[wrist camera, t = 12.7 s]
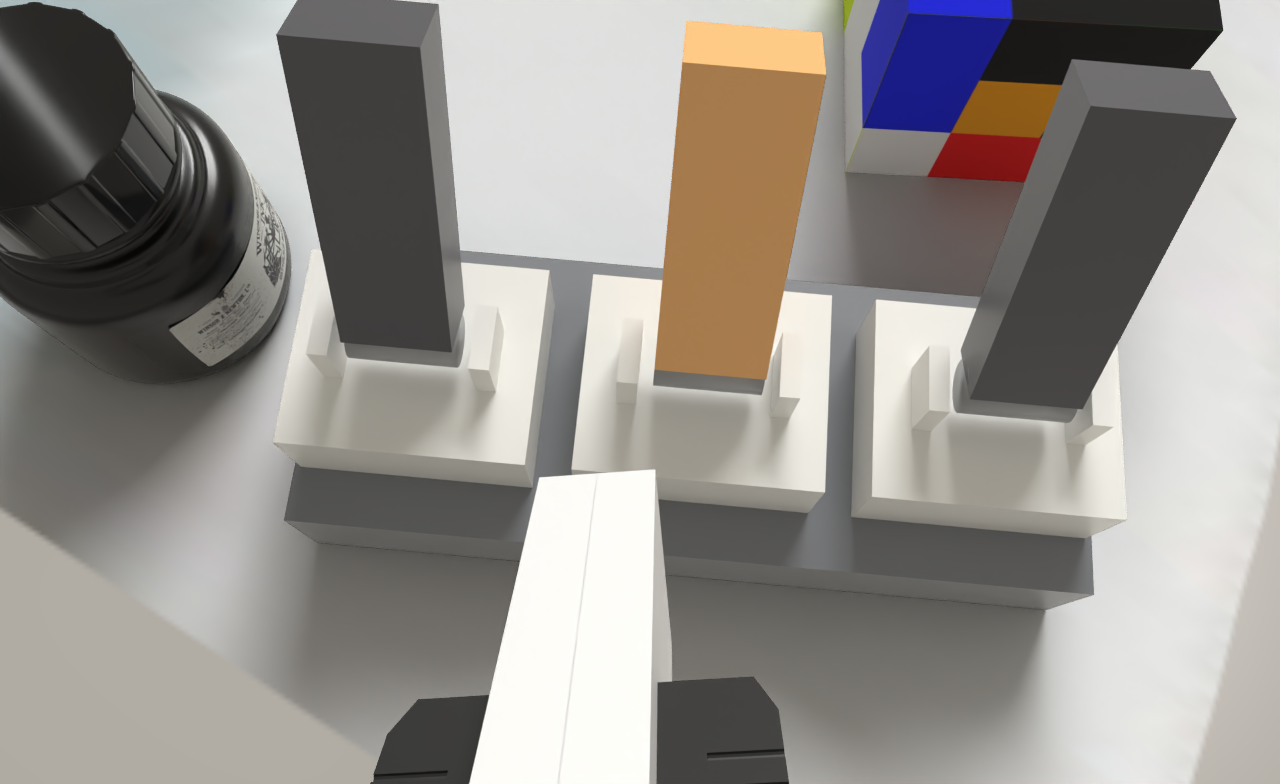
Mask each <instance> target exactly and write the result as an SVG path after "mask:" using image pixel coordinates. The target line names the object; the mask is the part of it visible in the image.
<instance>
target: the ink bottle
mask: <svg viewBox="0 0 1280 784" xmlns="http://www.w3.org/2000/svg"><path fill="white" fill-rule="evenodd" d="M290 276H291V255H290V248H289V243H288V239H287V235H286V232H285V230H284V227H283V225H282V223H281V220H280V218H279V217H278V215H277V213H276V212H275V210H274V208H273V207H272V205H271V203H270V202H269V200H268V199H267V197H266V196H265V194H264V193H263V191H262V189H261V188H260V186H259V185H258V183H257V182H256V180H255V179H254V177H253V176H252V174H251V172H250V171H249V169H248V168H247V166H246V165H245V163H244V162H243V160H242V158H241V157H240V155H239V154H238V152H237V151H236V150H235V148H234V146H233V145H232V143H231V142H230V140H229V139H228V138H227V136H226V135H225V133H224V132H223V131H222V130H221V128H220V127H219V126H218V125H217V124H216V123H215V122H214V121H213V120H212V119H211V118H210V117H209V116H208V115H207V114H205V113H204V112H203V111H201V110H200V109H199V108H197V107H196V106H194V105H192V104H191V103H189V102H187V101H185V100H183V99H181V98H179V97H177V96H174V95H171V94H169V93H166V92H162V91H159V90H155V89H154V88H153V86H152V85H151V84H150V82H149V81H148V79H147V78H146V76H145V75H144V74H143V72H142V71H141V69H140V68H139V67H138V65H137V64H136V62H135V61H134V60H133V58H132V57H131V55H130V54H129V53H128V51H127V50H126V48H125V47H124V45H123V44H122V43H121V41H120V40H119V38H118V37H117V36H116V34H115V33H114V32H113V31H112V30H110V29H106V28H105V27H103V26H102V25H100V24H99V23H97V22H96V21H94V20H92V19H91V18H89V17H87V16H86V15H85V13H84V12H82V11H80V10H77V9H66V8H61V7H56V6H50V5H44V4H42V3H40V2H29V3H28V4H23V5H16V6H9V7H2V8H0V296H1V297H2V298H3V299H4V300H5V301H6V302H7V303H8V304H10V305H11V306H12V307H13V308H15V309H16V310H17V311H19V312H20V313H21V314H23V315H24V316H26V317H27V318H28V319H30V320H31V321H33V322H34V323H35V324H37V325H38V326H39V327H41V328H42V329H44V330H45V331H46V332H48V333H49V334H51V335H52V336H53V337H55V338H56V339H58V340H59V341H60V342H62V343H63V344H64V345H66V346H67V347H69V348H70V349H71V350H73V351H74V352H76V353H77V354H78V355H80V356H81V357H83V358H84V359H85V360H87V361H88V362H90V363H91V364H93V365H94V366H96V367H97V368H99V369H101V370H103V371H105V372H107V373H109V374H112V375H114V376H117V377H120V378H123V379H127V380H131V381H136V382H143V383H175V382H183V381H188V380H193V379H197V378H200V377H204V376H207V375H210V374H212V373H215V372H217V371H220V370H222V369H224V368H226V367H228V366H230V365H232V364H233V363H235V362H237V361H238V360H240V359H241V358H243V357H244V356H245V355H247V354H248V353H249V352H251V351H252V350H253V349H254V348H255V347H256V346H257V345H258V344H259V343H260V342H261V341H262V340H263V339H264V338H265V336H266V335H267V334H268V333H269V331H270V330H271V328H272V327H273V325H274V324H275V322H276V320H277V318H278V316H279V314H280V312H281V310H282V307H283V305H284V302H285V299H286V296H287V292H288V288H289V283H290Z"/></svg>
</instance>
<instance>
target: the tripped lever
mask: <svg viewBox="0 0 1280 784" xmlns="http://www.w3.org/2000/svg"><path fill="white" fill-rule="evenodd" d="M825 79H826V66H825V57H824V47H823V38H822V33H821V32H809V31H798V30H786V29H775V28H763V27H752V26H740V25H729V24H717V23H706V22H694V21H686V29H685V40H684V50H683V61H682V72H681V83H680V94H679V105H678V116H677V127H676V138H675V149H674V159H673V170H672V181H671V192H670V203H669V214H668V225H667V236H666V247H665V258H664V269H663V279H662V290H661V301H660V312H659V323H658V334H657V345H656V356H655V367H654V378H653V386H663V387H674V388H685V389H696V390H707V391H718V392H729V393H740V394H751V395H762V393H763V389H764V384H765V380H766V379H767V374H768V369H769V364H770V359H771V354H772V349H773V344H774V339H775V333H776V328H777V323H778V318H779V313H780V308H781V303H782V298H783V293H784V288H785V283H786V277H787V272H788V267H789V262H790V257H791V252H792V247H793V242H794V237H795V232H796V227H797V222H798V216H799V211H800V206H801V201H802V196H803V191H804V186H805V181H806V176H807V171H808V166H809V161H810V155H811V150H812V145H813V140H814V135H815V130H816V125H817V120H818V115H819V110H820V105H821V99H822V94H823V89H824V84H825Z"/></svg>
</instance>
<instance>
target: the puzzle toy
mask: <svg viewBox="0 0 1280 784" xmlns="http://www.w3.org/2000/svg"><path fill="white" fill-rule="evenodd" d="M1222 31H1223V25H1222V18H1221V11H1220V4H1219V0H844V96H845V172H852V173H870V174H888V175H906V176H924V177H941V178H959V179H977V180H995V181H1013V182H1025V180H1026V178H1027V175H1028V173H1029V170H1030V167H1031V165H1032V162H1033V160H1034V157H1035V154H1036V152H1037V149H1038V147H1039V144H1040V141H1041V139H1042V136H1043V133H1044V131H1045V128H1046V126H1047V123H1048V120H1049V118H1050V115H1051V113H1052V110H1053V107H1054V105H1055V102H1056V100H1057V97H1058V94H1059V92H1060V89H1061V87H1062V84H1063V81H1064V79H1065V76H1066V73H1067V71H1068V68H1069V66H1070V63H1071V60H1072V59H1076V60H1087V61H1099V62H1110V63H1122V64H1133V65H1145V66H1156V67H1168V68H1179V69H1191V68H1192V67H1193V66H1194V65H1195V63H1196V62H1197V61H1198V60H1199V59H1200V57H1201V56H1202V55H1203V54H1204V53H1205V52H1206V50H1207V49H1208V48H1209V47H1210V46H1211V44H1212V43H1213V42H1214V41H1215V40H1216V39H1217V37H1218V36H1219V35H1220V34H1221V33H1222Z"/></svg>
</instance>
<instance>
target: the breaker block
mask: <svg viewBox="0 0 1280 784" xmlns="http://www.w3.org/2000/svg"><path fill="white" fill-rule="evenodd" d="M276 36H277V40H278V45H279V50H280V55H281V59H282V64H283V69H284V74H285V79H286V83H287V88H288V93H289V98H290V103H291V107H292V112H293V117H294V122H295V127H296V131H297V136H298V141H299V146H300V151H301V155H302V160H303V165H304V170H305V175H306V179H307V184H308V189H309V194H310V199H311V203H312V208H313V213H314V218H315V222H316V227H317V232H318V237H319V242H320V246H321V250H317V249H312V251H311V256H310V261H309V266H308V271H307V276H306V280H305V285H304V290H303V295H302V300H301V305H300V310H299V315H298V320H297V325H296V329H295V334H294V339H293V344H292V349H291V354H290V359H289V364H288V369H287V374H286V378H285V383H284V388H283V393H282V398H281V403H280V408H279V413H278V418H277V423H276V427H275V432H274V437H273V443H274V444H275V445H276V446H278V447H279V448H280V449H281V450H282V451H283V452H284V453H286V454H287V455H288V456H289V457H290V458H291V459H293V460H294V461H295V467H294V472H293V477H292V482H291V488H290V493H289V498H288V503H287V508H286V513H285V518H284V521H286V522H287V523H289V524H290V525H292V526H293V527H295V528H296V529H298V530H299V531H301V532H302V533H304V534H305V535H307V536H308V537H310V538H311V539H313V540H314V541H316V542H317V543H327V544H338V545H349V546H360V547H370V548H381V549H392V550H403V551H414V552H425V553H436V554H446V555H457V556H468V557H479V558H490V559H501V560H511V561H520V560H521V555H522V551H523V547H524V542H525V538H526V534H527V529H528V525H529V521H530V516H531V512H532V507H533V503H534V499H535V494H536V490H537V486H538V481H539V477H553V476H567V475H581V474H596V473H610V472H625V471H639V470H653V469H655V471H656V482H657V492H658V503H659V513H660V524H661V535H662V545H663V556H664V566H665V575H674V576H685V577H696V578H707V579H718V580H729V581H739V582H750V583H761V584H772V585H783V586H794V587H805V588H815V589H826V590H837V591H848V592H859V593H870V594H881V595H891V596H902V597H913V598H924V599H935V600H946V601H956V602H967V603H978V604H989V605H1000V606H1011V607H1022V608H1032V609H1043V610H1047V609H1050V608H1054V607H1057V606H1060V605H1063V604H1066V603H1069V602H1073V601H1076V600H1079V599H1082V598H1085V597H1089V596H1092V595H1094V586H1093V563H1092V540H1091V536H1092V535H1094V534H1096V533H1099V532H1101V531H1103V530H1106V529H1108V528H1110V527H1112V526H1115V525H1117V524H1119V523H1121V522H1124V521H1126V520H1127V510H1126V492H1125V474H1124V455H1123V437H1122V419H1121V400H1120V382H1119V363H1118V345H1117V343H1118V342H1119V340H1120V338H1121V336H1122V334H1123V332H1124V330H1125V328H1126V326H1127V325H1128V323H1129V321H1130V319H1131V317H1132V315H1133V313H1134V311H1135V309H1136V308H1137V306H1138V304H1139V302H1140V300H1141V298H1142V296H1143V294H1144V292H1145V291H1146V289H1147V287H1148V285H1149V283H1150V281H1151V279H1152V277H1153V275H1154V274H1155V272H1156V270H1157V268H1158V266H1159V264H1160V262H1161V260H1162V258H1163V257H1164V255H1165V253H1166V251H1167V249H1168V247H1169V245H1170V243H1171V241H1172V240H1173V238H1174V236H1175V234H1176V232H1177V230H1178V228H1179V226H1180V225H1181V223H1182V221H1183V219H1184V217H1185V215H1186V213H1187V211H1188V209H1189V208H1190V206H1191V204H1192V202H1193V200H1194V198H1195V196H1196V194H1197V192H1198V191H1199V189H1200V187H1201V185H1202V183H1203V181H1204V179H1205V177H1206V175H1207V174H1208V172H1209V170H1210V168H1211V166H1212V164H1213V162H1214V160H1215V158H1216V157H1217V155H1218V153H1219V151H1220V149H1221V147H1222V145H1223V143H1224V141H1225V140H1226V138H1227V136H1228V134H1229V132H1230V130H1231V128H1232V126H1233V124H1234V123H1235V121H1236V119H1237V118H1236V117H1235V115H1234V113H1233V111H1232V110H1231V108H1230V106H1229V104H1228V102H1227V101H1226V99H1225V97H1224V95H1223V94H1222V92H1221V90H1220V88H1219V86H1218V85H1217V83H1216V81H1215V79H1214V77H1213V76H1212V74H1211V72H1210V71H1202V70H1191V69H1179V68H1168V67H1156V66H1145V65H1133V64H1122V63H1110V62H1099V61H1087V60H1076V59H1072V60H1071V63H1070V66H1069V68H1068V71H1067V73H1066V76H1065V79H1064V81H1063V84H1062V87H1061V89H1060V92H1059V94H1058V97H1057V100H1056V102H1055V105H1054V107H1053V110H1052V113H1051V115H1050V118H1049V120H1048V123H1047V126H1046V128H1045V131H1044V133H1043V136H1042V139H1041V141H1040V144H1039V147H1038V149H1037V152H1036V154H1035V157H1034V160H1033V162H1032V165H1031V167H1030V170H1029V173H1028V175H1027V178H1026V180H1025V183H1024V186H1023V188H1022V191H1021V194H1020V196H1019V199H1018V201H1017V204H1016V207H1015V209H1014V212H1013V214H1012V217H1011V220H1010V222H1009V225H1008V227H1007V230H1006V233H1005V235H1004V238H1003V241H1002V243H1001V246H1000V248H999V251H998V254H997V256H996V259H995V261H994V264H993V267H992V269H991V272H990V274H989V277H988V280H987V282H986V285H985V287H984V290H983V293H982V295H981V297H976V296H964V295H953V294H942V293H931V292H920V291H908V290H897V289H886V288H875V287H864V286H852V285H841V284H830V283H819V282H808V281H796V280H786V283H785V288H784V293H783V298H782V303H781V308H780V313H779V318H778V323H777V328H776V333H775V339H774V344H773V349H772V354H771V359H770V364H769V369H768V374H767V379H766V380H765V384H764V389H763V393H762V395H751V394H740V393H729V392H718V391H707V390H696V389H685V388H674V387H663V386H653V378H654V367H655V356H656V345H657V334H658V323H659V312H660V301H661V290H662V279H663V269H662V268H651V267H639V266H628V265H617V264H606V263H595V262H583V261H572V260H561V259H550V258H539V257H527V256H516V255H505V254H494V253H483V252H471V251H460V245H459V234H458V222H457V211H456V199H455V188H454V176H453V165H452V154H451V142H450V131H449V119H448V108H447V96H446V85H445V74H444V62H443V51H442V39H441V28H440V16H439V5H438V4H431V3H420V2H408V1H397V0H297V2H296V4H295V5H294V7H293V8H292V10H291V12H290V13H289V15H288V17H287V18H286V20H285V21H284V23H283V25H282V26H281V28H280V30H279V31H278V33H277V34H276Z"/></svg>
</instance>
